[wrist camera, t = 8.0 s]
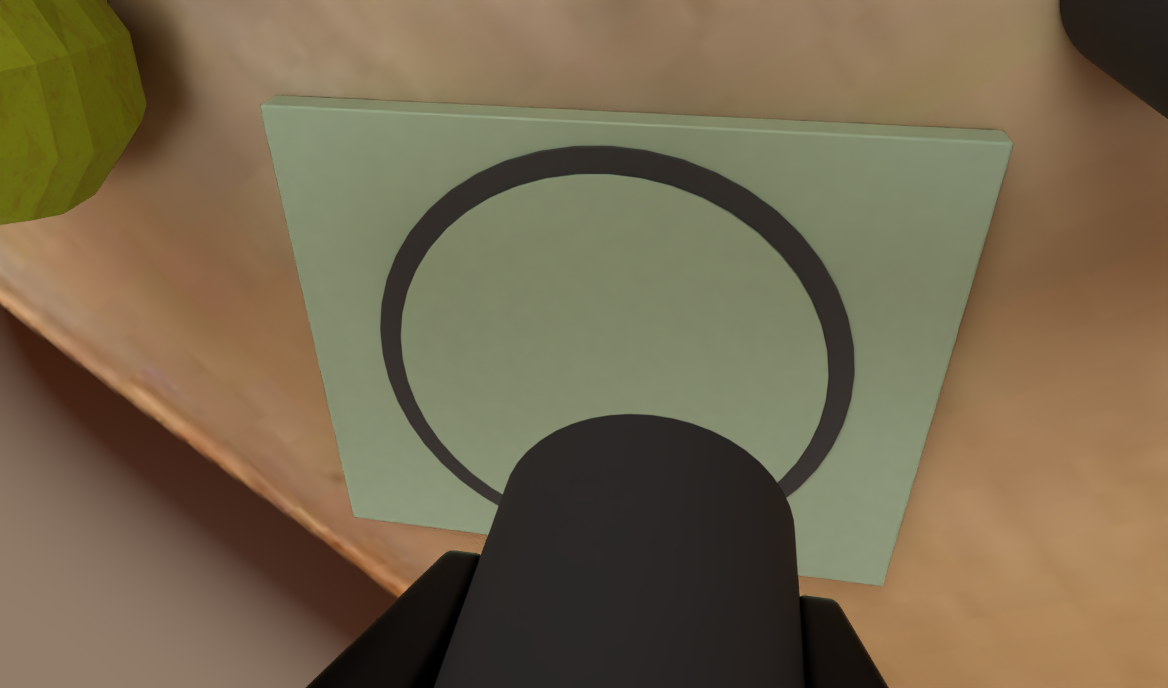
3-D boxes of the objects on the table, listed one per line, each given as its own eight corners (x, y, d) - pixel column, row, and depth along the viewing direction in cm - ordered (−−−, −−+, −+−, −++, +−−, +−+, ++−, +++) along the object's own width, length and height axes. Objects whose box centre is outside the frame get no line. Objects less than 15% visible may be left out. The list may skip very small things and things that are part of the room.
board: (1004, 129, 16) (1018, 146, 16) (879, 565, 24) (884, 593, 23) (275, 94, 19) (253, 107, 18) (363, 500, 26) (350, 522, 25)
